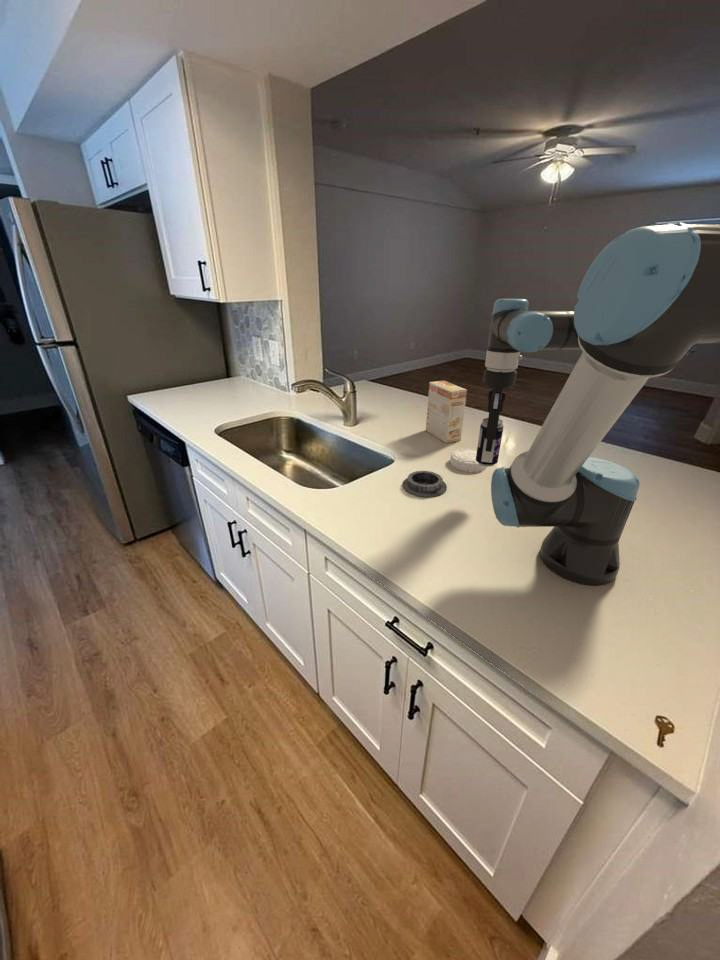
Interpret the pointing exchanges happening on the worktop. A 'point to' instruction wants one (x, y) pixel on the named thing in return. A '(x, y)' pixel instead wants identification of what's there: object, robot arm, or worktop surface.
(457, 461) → the mooncake
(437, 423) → the coffeecake box
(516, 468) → the robot arm
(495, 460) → the beverage can
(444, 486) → the ring collar
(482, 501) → the worktop surface
